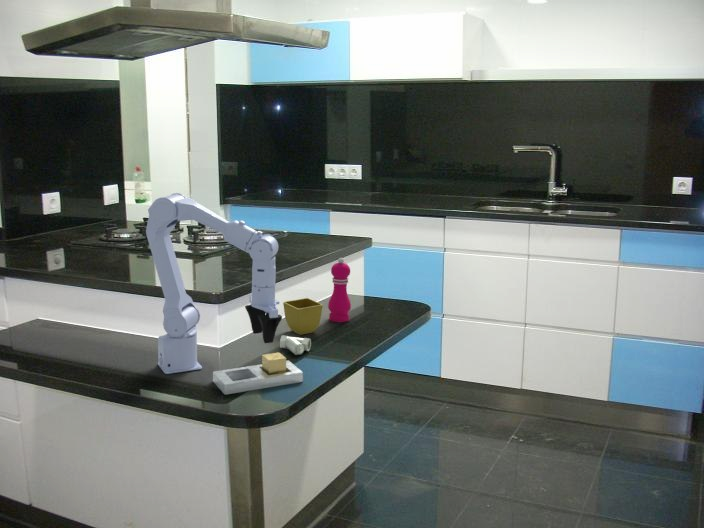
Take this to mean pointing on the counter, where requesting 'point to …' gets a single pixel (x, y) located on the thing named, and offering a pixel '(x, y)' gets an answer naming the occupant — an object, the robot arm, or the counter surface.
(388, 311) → the counter surface
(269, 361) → the wooden block
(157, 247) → the robot arm
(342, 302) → the pepper mill
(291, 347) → the pipe fitting
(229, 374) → the white block holder tray
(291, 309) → the flower pot
